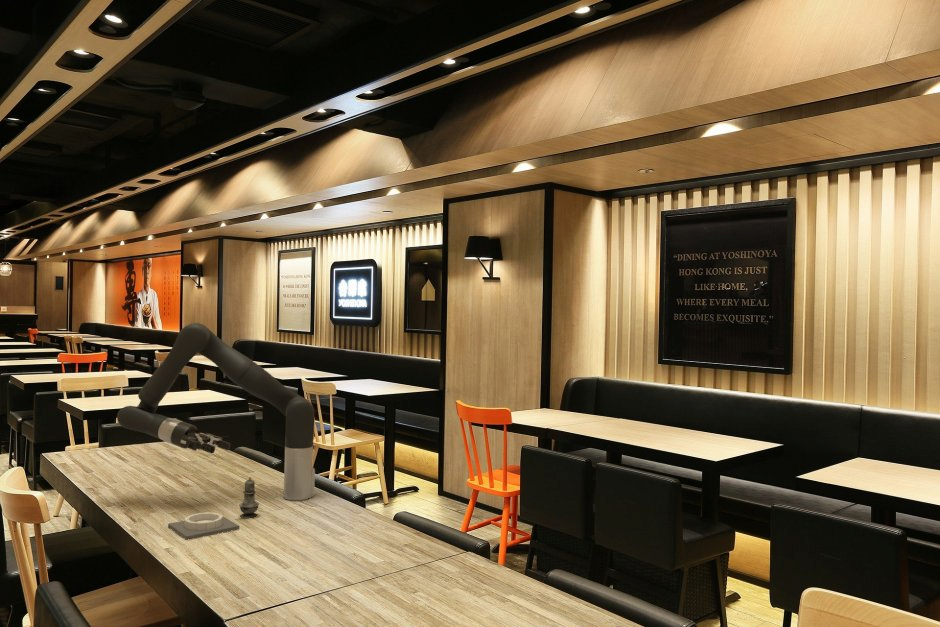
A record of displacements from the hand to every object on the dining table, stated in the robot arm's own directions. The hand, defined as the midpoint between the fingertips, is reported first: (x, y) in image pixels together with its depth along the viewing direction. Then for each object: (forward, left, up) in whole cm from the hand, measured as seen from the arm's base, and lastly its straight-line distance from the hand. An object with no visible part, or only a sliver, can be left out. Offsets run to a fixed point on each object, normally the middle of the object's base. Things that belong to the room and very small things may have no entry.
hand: (222, 448), depth 211 cm
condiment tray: (+10, +12, -20) cm, 25 cm away
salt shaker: (-5, +9, -20) cm, 23 cm away
